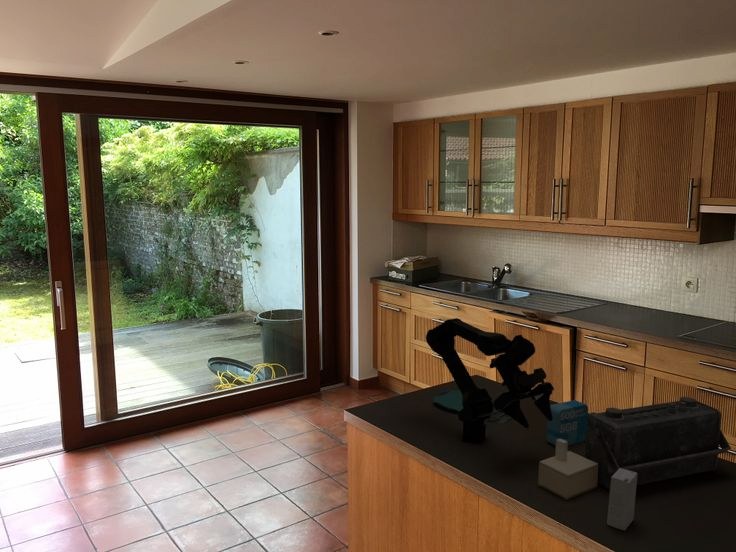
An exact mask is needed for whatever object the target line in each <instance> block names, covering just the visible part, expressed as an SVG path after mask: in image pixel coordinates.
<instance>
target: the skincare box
mask: <svg viewBox="0 0 736 552" xmlns="http://www.w3.org/2000/svg"><path fill="white" fill-rule="evenodd" d="M636 485H637V473H636V472H632V471H629V470H625V469H621V468H619V469H618V470H617V472H616V473H615V474H614V475H613V476H612V477H611V486H610V490H609V494H608V495H609V496H608V507H607V509H608V510H607V520H606V524H607V525H608V526H611V527H612V528H616V529H618V530H622V531H626V530H627V529H628V528H629V526H630V524H631V523H632V522H633V521H634V517H635V506H636V504H635V503H636V495H637V486H638V485H637V486H636Z"/></svg>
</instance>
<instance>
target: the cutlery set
mask: <svg viewBox="0 0 736 552" xmlns="http://www.w3.org/2000/svg"><path fill="white" fill-rule="evenodd" d="M432 401H433V404H436V405H438V406H439V407H440V408H442V409H445V410H448V411H452V412H457V413H458V412H460V411H461V410H462V409H463V405H462V393H461V391H460V389H457V390H456V389H455V390H453V389H452V390H449V391H444V392H441V393H440V394H438V395H435V396H434V397H433V399H432ZM491 401H492V403H493V406H494V401H493V399H492V400H491ZM498 413H499V411H496V409H494V410H493V412H492V414H491V416H490V419H493V418H492V417H497V418H496V420H490V419H486V421H488V420H489V421H488V422H493V423H494V422H496V423H494V425H497V423H498V425H497V426H501V425H503V424H506V423H508V422H509V420H512V419H513V418H511V417H510V416H508V417H502V416H504V415H506V414H505V413H501V414H499V415H496V414H498ZM501 417H502V419H501V420H500V418H501ZM500 423H501V425H500Z"/></svg>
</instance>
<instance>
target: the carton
mask: <svg viewBox="0 0 736 552" xmlns="http://www.w3.org/2000/svg"><path fill="white" fill-rule="evenodd" d="M597 481H598V466H596V467H594V468H591V469H589V470H586V471H583V472H581V473H578V474H576V475H573V476H570V477H566V476H564V475H562V474H560V473H558V472H556V471H554V470H552V469H550V468H548V467H546V466H544V465H542V464H540V463H539V464H538V481H537V486H538V487H540V488H542V489H544V490H546V491H548V492H550V493H551V494H553V495H555V496H557V497H559V498H561V499H563V500H565V501H568V500H571V499H573V498H575V497H578V496H580V495H582V494H585V493H587V492H590V491H592V490H595V489H596V488H598V482H597Z"/></svg>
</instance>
